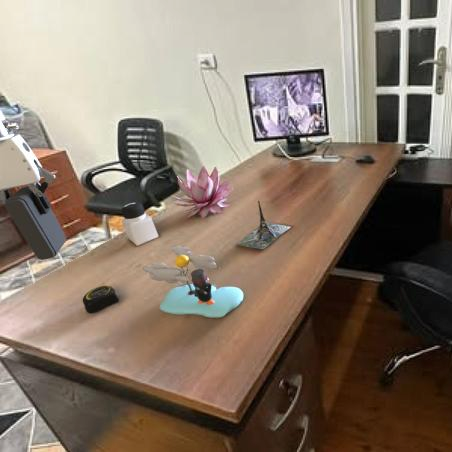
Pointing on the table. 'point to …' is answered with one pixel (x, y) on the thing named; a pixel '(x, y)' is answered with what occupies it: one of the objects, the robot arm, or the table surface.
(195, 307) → the penguin figurine
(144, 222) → the medicine bottle
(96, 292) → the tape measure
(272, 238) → the eiffel tower figurine
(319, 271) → the table surface
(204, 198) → the decorative flower
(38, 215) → the card reader
